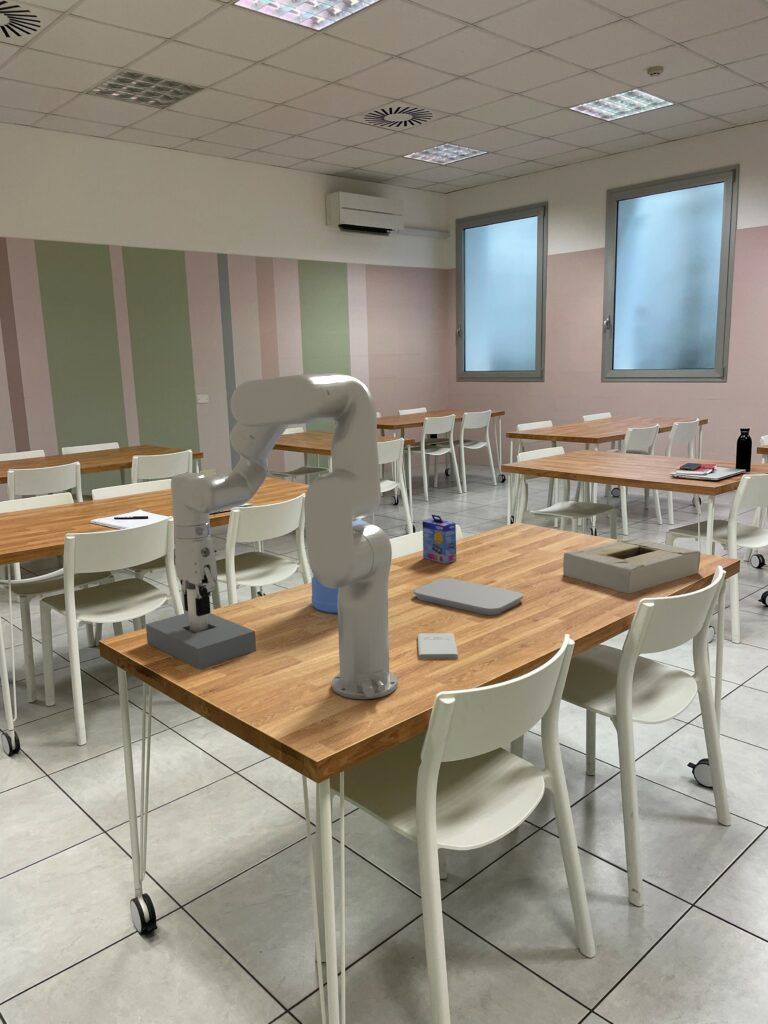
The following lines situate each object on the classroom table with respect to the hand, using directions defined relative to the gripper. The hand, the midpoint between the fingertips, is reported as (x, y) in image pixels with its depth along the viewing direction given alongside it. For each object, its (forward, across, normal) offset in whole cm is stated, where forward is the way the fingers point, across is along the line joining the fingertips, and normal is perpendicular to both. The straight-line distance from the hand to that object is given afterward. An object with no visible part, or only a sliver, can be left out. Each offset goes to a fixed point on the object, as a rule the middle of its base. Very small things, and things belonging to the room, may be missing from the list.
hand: (197, 611), depth 166 cm
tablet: (+9, -23, -66) cm, 70 cm away
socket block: (+8, 0, 0) cm, 8 cm away
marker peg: (+4, 0, 0) cm, 4 cm away
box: (+8, -43, -114) cm, 123 cm away
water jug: (+8, -2, -41) cm, 42 cm away
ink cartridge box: (+8, +9, -91) cm, 91 cm away
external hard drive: (+9, -39, -35) cm, 53 cm away
